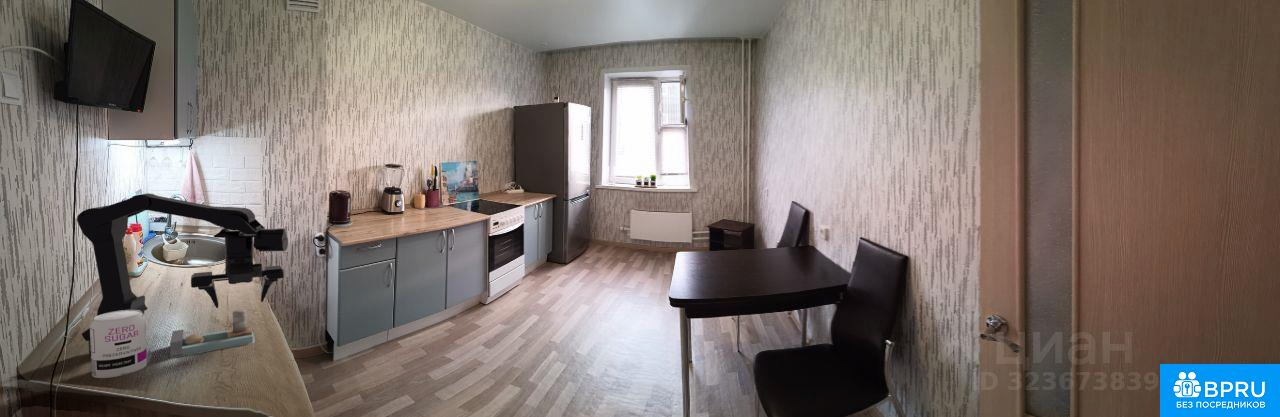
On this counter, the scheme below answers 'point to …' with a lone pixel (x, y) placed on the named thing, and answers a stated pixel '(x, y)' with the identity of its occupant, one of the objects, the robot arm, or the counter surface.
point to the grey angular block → (177, 343)
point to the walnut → (193, 339)
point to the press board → (216, 343)
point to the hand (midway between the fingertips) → (240, 304)
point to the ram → (239, 325)
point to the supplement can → (118, 343)
